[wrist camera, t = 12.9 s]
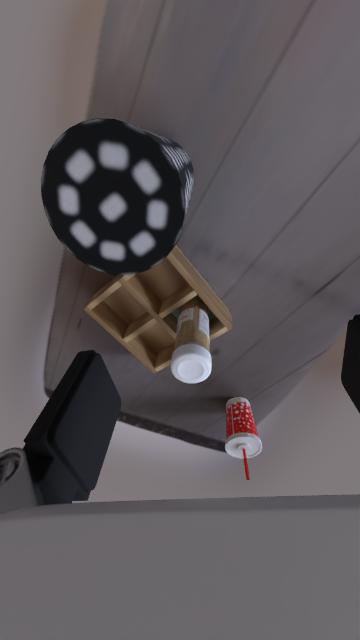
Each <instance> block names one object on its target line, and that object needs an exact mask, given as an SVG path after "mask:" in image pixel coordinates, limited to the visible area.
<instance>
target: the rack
mask: <svg viewBox="0 0 360 640" xmlns="http://www.w3.org/2000/svg"><path fill="white" fill-rule="evenodd" d="M193 297H198V298H201V299H202V300H203V301H204V303H205V304H206V305H207V306H208V309H209V313H208V318H209V338H210V341H211V340H213V339H215V338H216V337H218V336H220V335H221V334H223V333H225V332H227V331H228V330H230V329H232V328H233V326H232V321H231V315H230V311H229V310H228V308H227V307H226V306H225V305H224V303H223V302H222V301H221V300H220V299H219V297H218V296H217V295H216V294H215V292H214V291H213V290H212V289H211V287H210V286H209V285H208V284H207V282H206V281H205V280H204V279H203V277H202V276H201V275H200V274H199V273H198V271H197V270H196V269H195V268H194V266H193V265H192V264H191V263H190V261H189V260H188V259H187V258H186V256H185V255H184V254H183V253H182V252H181V250H180V249H179V248H178V247H177V245H175V247H174V248H173V249H172V251H171V252H170V254H169V255H168V256H167V257H166V258H165V259H164V260H163V261H161V262H160V263H159V264H158V265H156V266H154V267H153V268H151V269H149V270H147V271H144V272H141V273H138V274H131V275H117V276H116V277H114V278H113V279H112V280H111V281H110V282H108V283H107V284H106V285H105V286H104V287H102V288H101V289H100V290H99V291H98V292H96V293H95V294H94V295H93V297H92V298H91V299H90V301H89V302H88V303H87V304H86V306H85V307H84V308H83V310H85V311H86V312H87V313H88V314H89V315H90V316H91V317H92V318H93V319H94V320H96V321H97V322H98V323H99V324H100V325H101V326H102V327H103V328H104V329H105V330H107V331H108V332H109V333H110V334H111V335H112V336H113V337H114V338H115V339H116V340H117V341H119V342H120V343H121V344H122V345H123V346H124V347H125V348H126V349H127V350H128V351H130V352H131V353H132V354H133V355H134V356H135V357H136V358H137V359H138V360H139V361H141V362H142V363H143V364H144V365H145V366H146V367H147V368H148V369H149V370H150V371H152V372H153V373H156V372H157V371H160V370H161V369H163V368H165V367H166V366H168V365H170V364H171V359H172V354H173V352H174V350H175V342H176V332H177V324H178V318H179V307H180V306H181V305H183V304H184V303H186V302H187V301H189V300H190V299H192V298H193Z"/></svg>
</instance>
